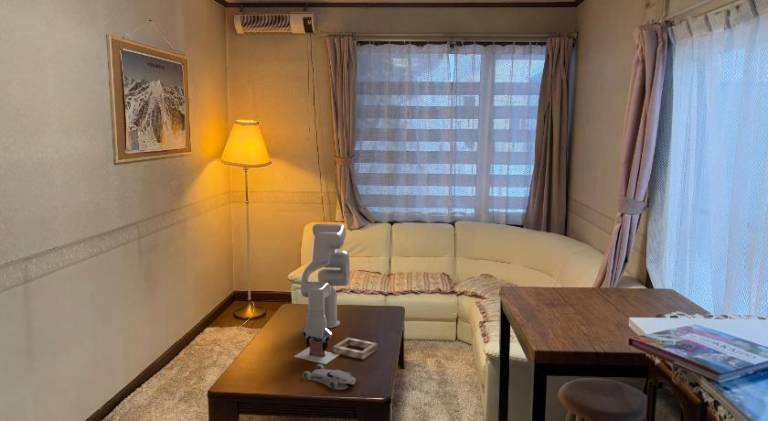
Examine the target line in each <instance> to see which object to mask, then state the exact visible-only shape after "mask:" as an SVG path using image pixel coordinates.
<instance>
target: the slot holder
mask: <svg viewBox="0 0 768 421" xmlns="http://www.w3.org/2000/svg"><path fill="white" fill-rule="evenodd" d="M349 346H352V347H356V348H360V349H361V348H362V349H363V350H358V349H353V348H349ZM378 346H379V344H378V342H377V343H376V342H374V341H373V342H372V341H368V340H363V339H358V338H353V337H346V338H345V339H343V340H342V341H340V342H338V343H337V344H335V345H334V346H332V353H335V354H340V355H342V356H345V357H350V358H355V359H360V360H365V359H366V358H368V357H369V356H371V355H372V354H373V353H375V352H376V351H378Z"/></svg>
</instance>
